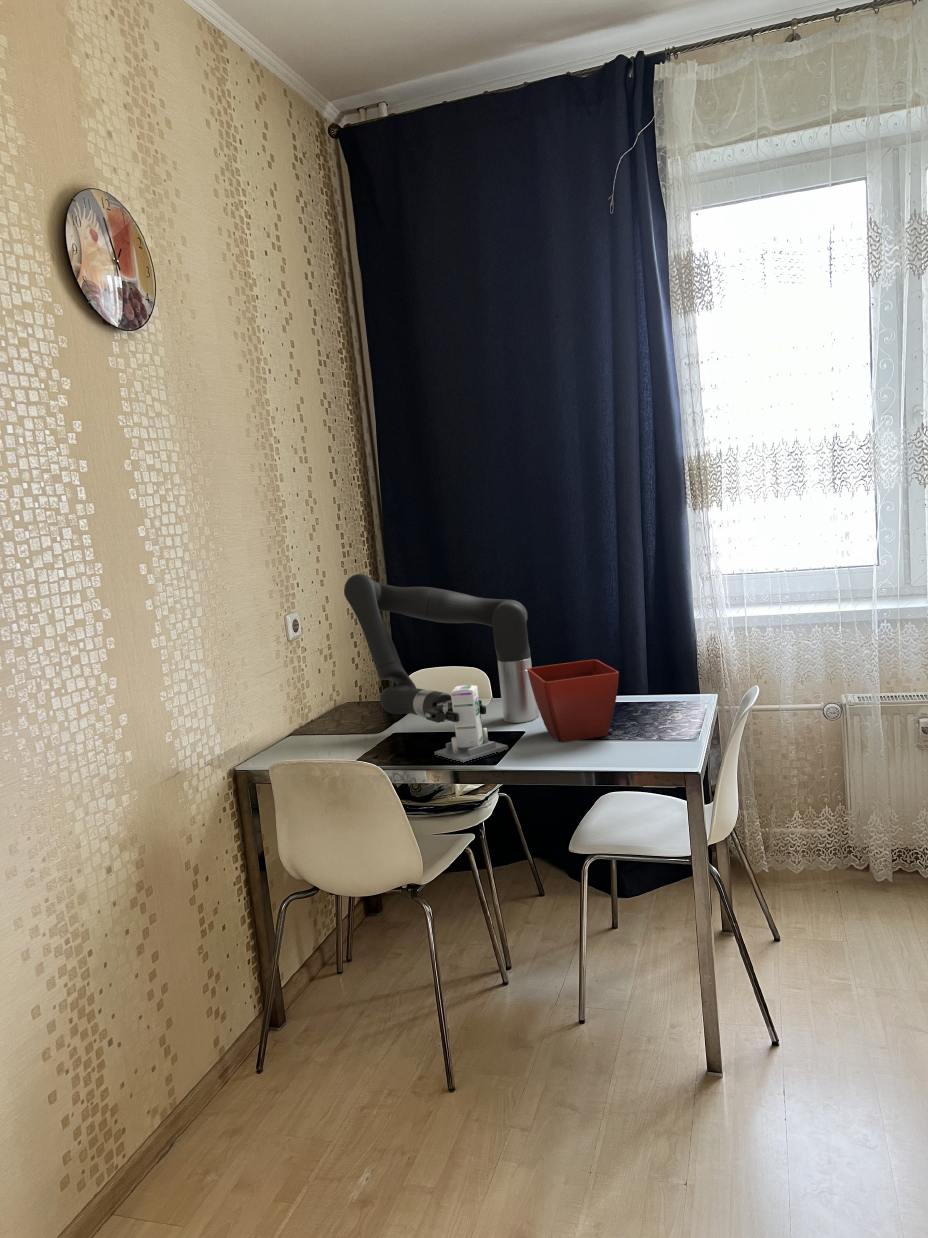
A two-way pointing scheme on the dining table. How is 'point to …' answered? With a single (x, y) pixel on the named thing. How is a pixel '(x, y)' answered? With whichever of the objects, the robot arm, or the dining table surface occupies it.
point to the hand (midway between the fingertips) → (471, 714)
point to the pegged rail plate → (470, 749)
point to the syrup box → (467, 716)
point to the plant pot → (575, 698)
